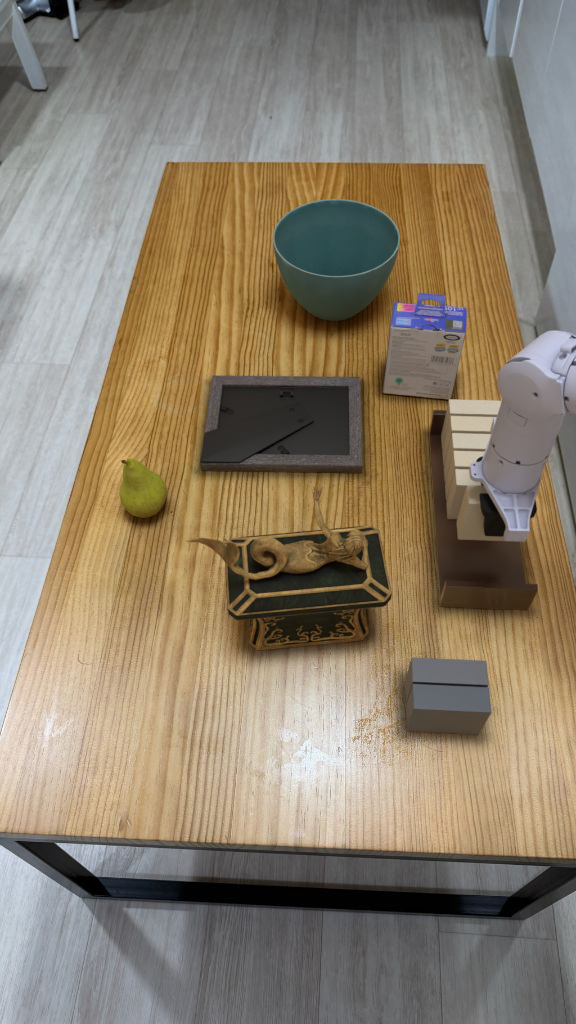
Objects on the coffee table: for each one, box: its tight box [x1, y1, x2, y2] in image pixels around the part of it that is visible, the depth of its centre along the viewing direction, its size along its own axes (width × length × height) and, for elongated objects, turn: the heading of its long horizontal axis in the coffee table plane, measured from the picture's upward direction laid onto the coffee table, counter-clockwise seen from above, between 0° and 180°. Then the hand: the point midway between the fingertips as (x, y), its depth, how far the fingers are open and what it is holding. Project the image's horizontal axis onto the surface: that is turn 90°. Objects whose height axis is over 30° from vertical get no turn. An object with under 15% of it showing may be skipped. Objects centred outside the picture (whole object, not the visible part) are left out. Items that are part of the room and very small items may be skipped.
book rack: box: [428, 409, 539, 611], centre depth 91 cm, size 26×10×5 cm, turn 177°
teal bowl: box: [272, 198, 401, 322], centre depth 112 cm, size 18×18×12 cm
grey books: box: [404, 657, 492, 736], centre depth 76 cm, size 5×8×6 cm
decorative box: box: [185, 484, 393, 651], centre depth 78 cm, size 20×10×20 cm, turn 95°
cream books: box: [441, 398, 502, 519], centre depth 93 cm, size 14×7×7 cm, turn 177°
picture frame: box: [199, 374, 364, 474], centre depth 101 cm, size 16×2×21 cm
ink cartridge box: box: [382, 292, 468, 401], centre depth 100 cm, size 10×6×14 cm, turn 81°
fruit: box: [119, 458, 168, 519], centre depth 90 cm, size 6×6×12 cm
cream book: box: [457, 485, 538, 543], centre depth 81 cm, size 2×7×7 cm, turn 87°
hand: (492, 522), depth 82 cm, fingers closed on cream book, 2 cm apart
